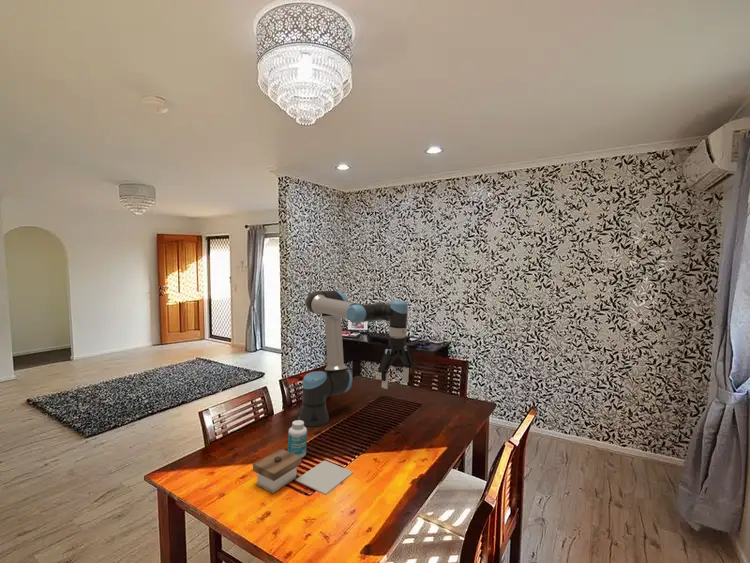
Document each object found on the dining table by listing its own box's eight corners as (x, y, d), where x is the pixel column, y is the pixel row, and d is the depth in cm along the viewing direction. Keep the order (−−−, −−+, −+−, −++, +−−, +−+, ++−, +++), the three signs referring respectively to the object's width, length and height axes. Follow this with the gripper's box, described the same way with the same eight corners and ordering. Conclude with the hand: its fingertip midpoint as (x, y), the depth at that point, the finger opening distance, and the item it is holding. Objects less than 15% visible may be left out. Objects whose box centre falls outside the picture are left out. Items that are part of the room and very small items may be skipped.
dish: (257, 484, 126) (257, 470, 125) (280, 470, 135) (281, 457, 135) (273, 493, 121) (273, 478, 121) (296, 477, 131) (296, 464, 131)
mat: (295, 480, 129) (295, 479, 129) (324, 461, 142) (324, 460, 142) (325, 494, 122) (325, 493, 121) (353, 473, 135) (353, 471, 135)
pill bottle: (290, 461, 141) (291, 427, 141) (285, 452, 148) (286, 420, 147) (308, 457, 145) (309, 424, 144) (303, 449, 151) (304, 417, 151)
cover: (252, 470, 125) (253, 461, 125) (280, 455, 136) (281, 446, 136) (273, 481, 120) (274, 471, 120) (301, 464, 131) (301, 455, 131)
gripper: (383, 341, 145) (381, 393, 146) (422, 335, 163) (419, 381, 164) (371, 338, 150) (368, 388, 151) (409, 332, 168) (407, 377, 169)
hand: (395, 384), depth 157 cm, fingers open, 13 cm apart
